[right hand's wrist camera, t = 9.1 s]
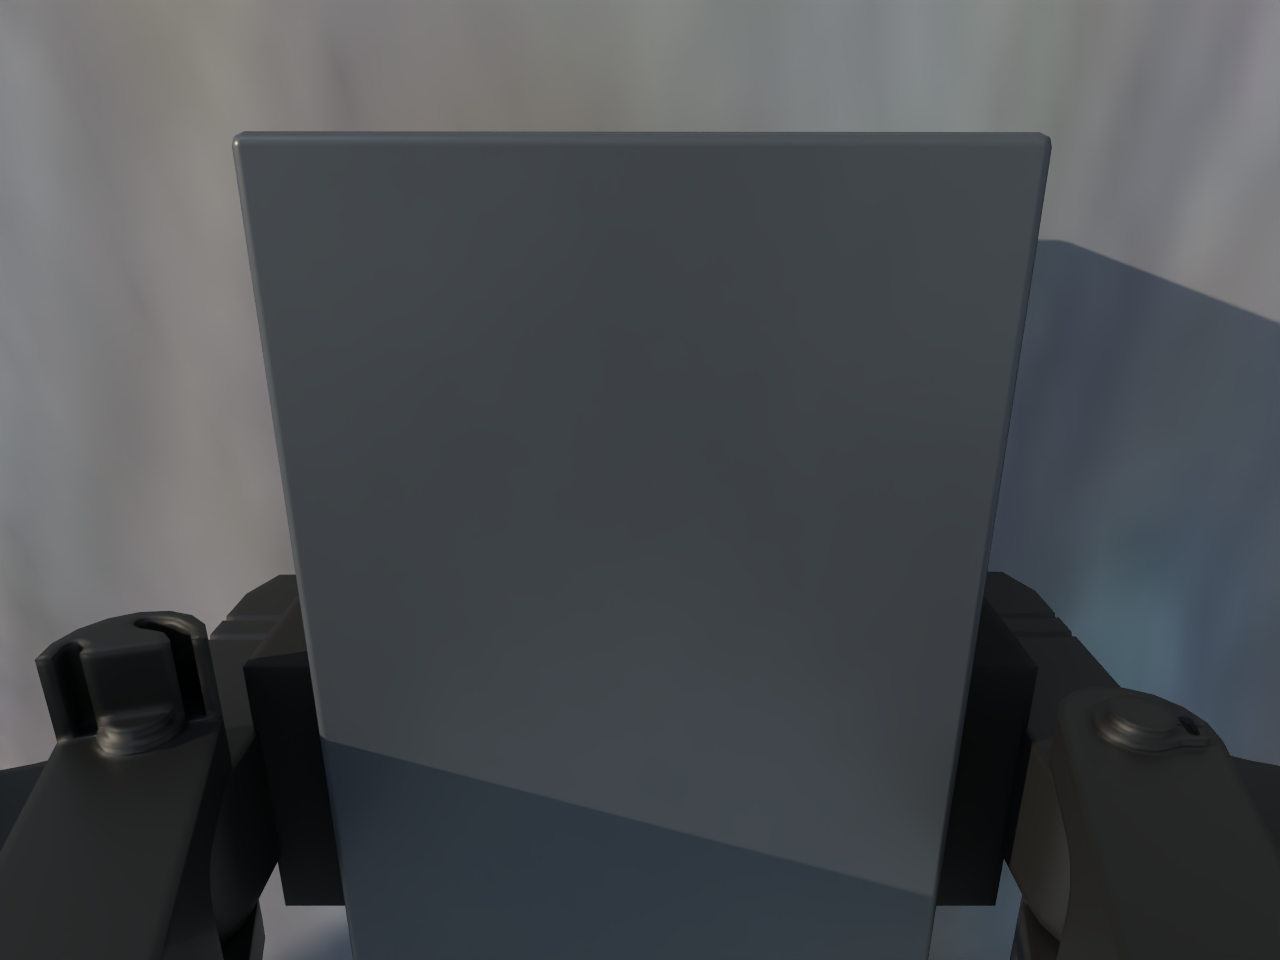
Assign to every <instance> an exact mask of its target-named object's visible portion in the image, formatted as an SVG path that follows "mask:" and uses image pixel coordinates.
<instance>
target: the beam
mask: <svg viewBox="0 0 1280 960" xmlns="http://www.w3.org/2000/svg"><path fill="white" fill-rule="evenodd" d="M232 149H233V155H234V162H235V169H236V175H237V182H238V189H239V196H240V202H241V209H242V216H243V222H244V229H245V236H246V243H247V249H248V256H249V263H250V269H251V276H252V283H253V290H254V296H255V303H256V310H257V316H258V323H259V330H260V337H261V343H262V350H263V357H264V363H265V370H266V377H267V384H268V390H269V397H270V404H271V410H272V417H273V424H274V431H275V437H276V444H277V451H278V457H279V464H280V471H281V478H282V484H283V491H284V498H285V504H286V511H287V518H288V525H289V531H290V538H291V545H292V551H293V558H294V565H295V572H296V578H297V585H298V592H299V598H300V605H301V612H302V619H303V625H304V632H305V639H306V645H307V652H308V659H309V666H310V672H311V679H312V686H313V692H314V699H315V706H316V713H317V719H318V726H319V733H320V739H321V746H322V753H323V760H324V766H325V773H326V780H327V786H328V793H329V800H330V807H331V813H332V820H333V827H334V833H335V840H336V847H337V854H338V860H339V867H340V874H341V880H342V887H343V894H344V901H345V907H346V914H347V921H348V927H349V934H350V941H351V948H352V954H353V960H928V955H929V949H930V942H931V936H932V929H933V923H934V916H935V910H936V903H937V896H938V890H939V883H940V877H941V870H942V864H943V857H944V850H945V844H946V837H947V831H948V824H949V818H950V811H951V805H952V798H953V791H954V785H955V778H956V772H957V765H958V759H959V752H960V746H961V739H962V732H963V726H964V719H965V713H966V706H967V700H968V693H969V686H970V680H971V673H972V667H973V660H974V654H975V647H976V641H977V634H978V627H979V621H980V614H981V608H982V601H983V595H984V588H985V581H986V575H987V568H988V562H989V555H990V549H991V542H992V536H993V529H994V522H995V516H996V509H997V503H998V496H999V490H1000V483H1001V477H1002V470H1003V463H1004V457H1005V450H1006V444H1007V437H1008V431H1009V424H1010V417H1011V411H1012V404H1013V398H1014V391H1015V385H1016V378H1017V372H1018V365H1019V358H1020V352H1021V345H1022V339H1023V332H1024V326H1025V319H1026V313H1027V306H1028V299H1029V293H1030V286H1031V280H1032V273H1033V267H1034V260H1035V253H1036V247H1037V240H1038V234H1039V227H1040V221H1041V214H1042V208H1043V201H1044V194H1045V188H1046V181H1047V175H1048V168H1049V162H1050V155H1051V149H1052V146H1051V140H1050V138H1049V137H1048V136H1046V135H1044V134H1042V133H1040V132H253V131H244V132H242V133H240V134H238V135H236V136H234V138H233V145H232Z"/></svg>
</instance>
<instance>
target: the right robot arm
mask: <svg viewBox="0 0 1280 960" xmlns="http://www.w3.org/2000/svg"><path fill="white" fill-rule="evenodd" d="M35 662H36V666H37V670H38V673H39V677H40V681H41V684H42V688H43V691H44V695H45V699H46V702H47V706H48V710H49V713H50V717H51V721H52V724H53V728H54V731H55V735H56V739H57V744H56V746H55V748H54V750H53V752H52V754H51V756H50V757H49V759H48V761H44V762H40V763H36V764H31V765H26V766H21V767H15V768H10V769H5V770H0V960H262V958H263V950H264V942H265V934H264V927H263V920H262V914H261V909H260V904H259V897H260V895H261V893H262V891H263V889H264V887H265V885H266V883H267V881H268V879H269V877H270V876H271V874H272V872H273V870H274V868H275V866H276V864H277V862H278V865H279V871H280V876H281V882H282V887H283V893H284V898H285V904H286V906H345V901H344V894H343V887H342V880H341V874H340V867H339V860H338V854H337V847H336V840H335V833H334V827H333V820H332V813H331V807H330V800H329V793H328V786H327V780H326V773H325V766H324V760H323V753H322V746H321V739H320V733H319V726H318V719H317V713H316V706H315V699H314V692H313V686H312V679H311V672H310V666H309V659H308V652H307V645H306V639H305V632H304V625H303V619H302V612H301V605H300V598H299V592H298V585H297V578H296V575H278V576H277V577H275V578H273V579H272V580H270V581H268V582H266V583H265V584H263V585H261V586H259V587H258V588H256V589H254V590H252V591H251V592H249V593H247V594H246V595H245V596H244V597H243V598H242V600H241V601H240V602H239V603H238V604H237V605H236V606H235V608H234V609H233V610H232V611H231V612H230V613H229V614H228V615H227V620H226V621H222V622H221V623H220V625H219V626H218V627H217V628H216V629H215V630H214V631H213V633H212V634H211V635H210V640H208V637H207V631H206V626H205V624H204V623H202V622H201V621H200V620H198V619H197V618H195V617H194V616H192V615H188V614H183V613H177V612H172V611H157V612H139V613H134V614H128V615H123V616H118V617H113V618H108V619H106V620H103V621H100V622H97V623H94V624H91V625H88V626H86V627H83V628H80V629H77V630H75V631H74V632H72V633H70V634H68V635H66V636H65V637H63V638H61V639H59V640H57V641H56V642H54V643H52V644H51V645H50V646H49V647H48V648H47V649H46V650H45V651H43V652H42V653H41V654H40V655H39V656H38V657H37V658H36V659H35ZM1004 859H1005V861H1006V863H1007V865H1008V867H1009V869H1010V871H1011V873H1012V875H1013V877H1014V879H1015V881H1016V883H1017V885H1018V887H1019V889H1020V891H1021V893H1022V899H1021V904H1020V909H1019V914H1018V920H1017V925H1016V930H1015V935H1014V940H1013V945H1012V950H1011V956H1010V960H1280V766H1276V765H1271V764H1266V763H1260V762H1255V761H1250V760H1245V759H1241V758H1237V757H1233V756H1230V754H1229V752H1228V750H1227V748H1226V746H1225V744H1224V742H1223V741H1222V740H1221V738H1220V737H1219V736H1218V735H1217V734H1216V733H1215V731H1214V730H1213V729H1212V728H1211V727H1210V726H1209V724H1208V723H1206V722H1205V721H1203V720H1202V719H1200V718H1199V717H1197V716H1196V715H1194V714H1193V713H1191V712H1190V711H1188V710H1187V709H1185V708H1184V707H1182V706H1179V705H1177V704H1174V703H1172V702H1170V701H1167V700H1165V699H1162V698H1160V697H1158V696H1155V695H1152V694H1148V693H1144V692H1139V691H1135V690H1131V689H1126V688H1121V687H1120V686H1119V685H1118V684H1117V683H1116V682H1115V680H1114V679H1113V678H1112V677H1111V676H1110V675H1109V674H1108V673H1107V671H1106V670H1105V669H1104V668H1103V667H1102V666H1101V665H1100V663H1099V662H1098V661H1097V660H1096V659H1095V658H1094V657H1093V656H1092V654H1091V653H1090V652H1089V651H1088V650H1087V649H1086V648H1085V647H1084V645H1083V644H1082V643H1081V642H1080V641H1079V640H1078V639H1077V638H1076V637H1072V635H1071V631H1070V630H1069V629H1068V627H1067V626H1066V625H1065V624H1064V623H1063V622H1062V621H1061V620H1060V618H1055V613H1054V612H1053V611H1052V609H1051V608H1050V607H1049V606H1048V605H1047V604H1046V603H1045V602H1044V600H1043V599H1042V598H1041V597H1040V596H1039V595H1038V594H1037V593H1036V591H1034V590H1033V589H1031V588H1029V587H1027V586H1026V585H1024V584H1022V583H1020V582H1019V581H1017V580H1015V579H1013V578H1012V577H1010V576H1008V575H1006V574H1005V573H1003V572H987V575H986V581H985V588H984V595H983V601H982V608H981V614H980V621H979V627H978V634H977V641H976V647H975V654H974V660H973V667H972V673H971V680H970V686H969V693H968V700H967V706H966V713H965V719H964V726H963V732H962V739H961V746H960V752H959V759H958V765H957V772H956V778H955V785H954V791H953V798H952V805H951V811H950V818H949V824H948V831H947V837H946V844H945V850H944V857H943V864H942V870H941V877H940V883H939V890H938V896H937V903H936V905H955V906H995V904H996V898H997V893H998V887H999V882H1000V876H1001V871H1002V865H1003V860H1004Z"/></svg>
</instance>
